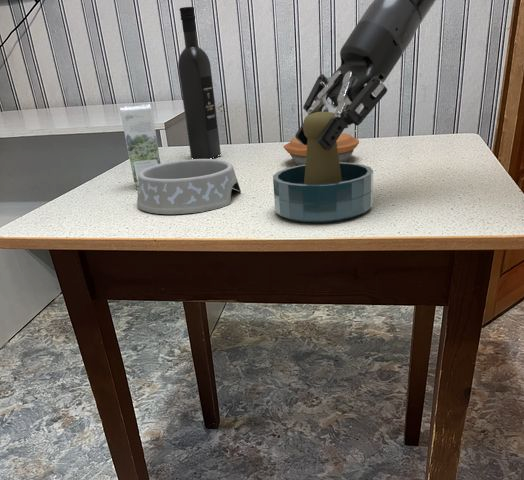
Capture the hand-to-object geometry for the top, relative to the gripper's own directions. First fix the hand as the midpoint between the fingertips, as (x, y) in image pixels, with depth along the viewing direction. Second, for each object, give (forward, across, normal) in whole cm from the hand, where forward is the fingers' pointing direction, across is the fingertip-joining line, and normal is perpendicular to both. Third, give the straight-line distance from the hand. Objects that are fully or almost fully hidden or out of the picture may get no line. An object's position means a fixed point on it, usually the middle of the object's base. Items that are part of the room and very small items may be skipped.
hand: (311, 143), depth 76 cm
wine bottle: (+3, -55, +12) cm, 56 cm away
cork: (+4, 0, +6) cm, 8 cm away
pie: (-8, -30, +23) cm, 38 cm away
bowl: (+6, 0, +8) cm, 10 cm away
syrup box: (+17, -38, -2) cm, 42 cm away
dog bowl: (+15, -22, -1) cm, 27 cm away
